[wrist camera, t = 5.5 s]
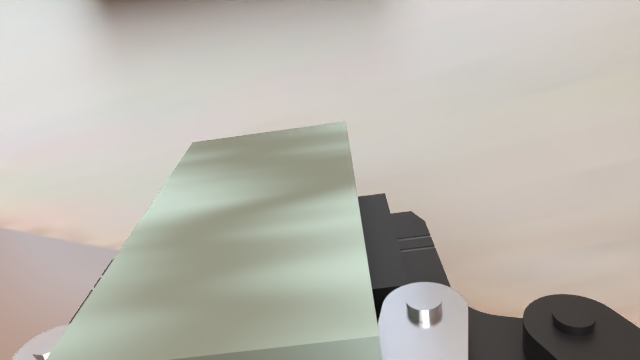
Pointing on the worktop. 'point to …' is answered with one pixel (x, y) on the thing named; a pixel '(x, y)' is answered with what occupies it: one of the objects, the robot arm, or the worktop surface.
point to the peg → (240, 260)
